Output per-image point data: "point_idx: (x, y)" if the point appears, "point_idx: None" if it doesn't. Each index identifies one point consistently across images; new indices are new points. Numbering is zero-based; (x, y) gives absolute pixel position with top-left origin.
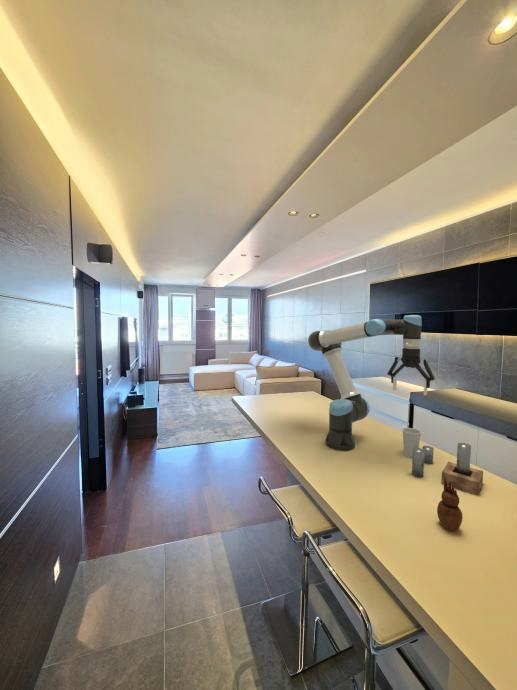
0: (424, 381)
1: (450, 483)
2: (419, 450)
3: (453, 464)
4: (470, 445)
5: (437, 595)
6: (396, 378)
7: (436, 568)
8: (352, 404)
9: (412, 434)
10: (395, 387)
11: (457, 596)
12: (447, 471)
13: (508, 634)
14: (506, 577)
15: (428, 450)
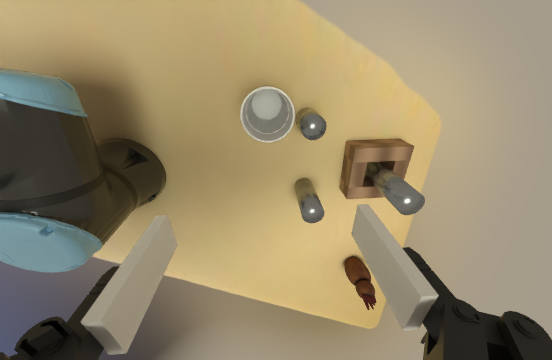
0: (402, 326)
1: (372, 307)
2: (315, 215)
3: (364, 155)
4: (424, 198)
5: (348, 314)
6: (118, 303)
7: (346, 301)
8: (58, 225)
9: (277, 139)
10: (164, 243)
11: (358, 309)
12: (354, 192)
13: (381, 311)
14: None
15: (316, 138)
